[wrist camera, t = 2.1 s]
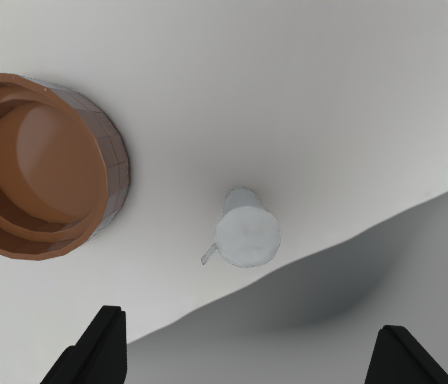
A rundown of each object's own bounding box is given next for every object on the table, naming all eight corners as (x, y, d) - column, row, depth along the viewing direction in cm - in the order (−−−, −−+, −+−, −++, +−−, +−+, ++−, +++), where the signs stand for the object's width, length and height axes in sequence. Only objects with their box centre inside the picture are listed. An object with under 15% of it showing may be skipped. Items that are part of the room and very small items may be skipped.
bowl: (-36, 77, 22) (-110, 64, 17) (129, 90, 22) (102, 80, 17) (-8, 229, 26) (-61, 253, 21) (133, 240, 26) (111, 266, 21)
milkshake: (205, 188, 24) (192, 229, 15) (259, 175, 24) (280, 209, 14) (216, 229, 26) (210, 292, 16) (267, 218, 25) (292, 276, 16)
